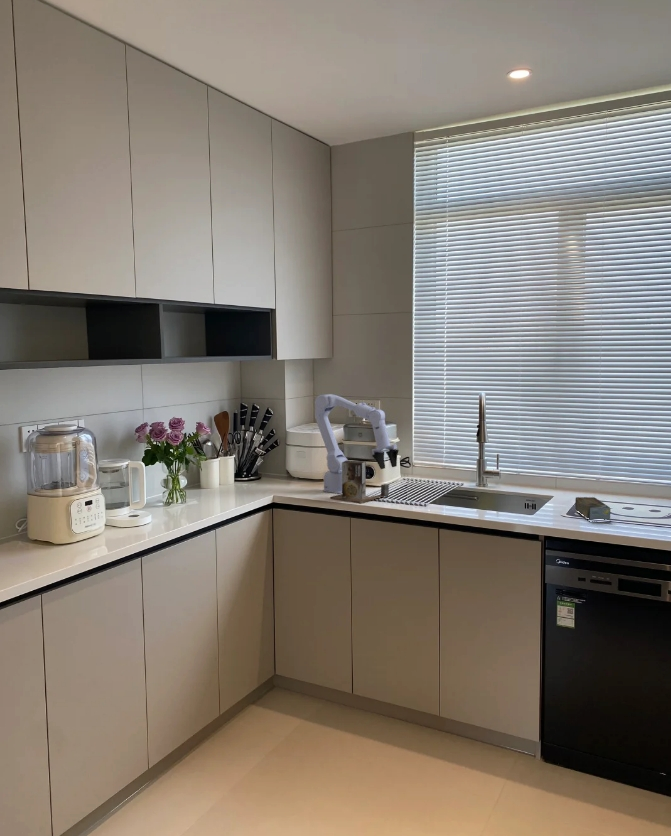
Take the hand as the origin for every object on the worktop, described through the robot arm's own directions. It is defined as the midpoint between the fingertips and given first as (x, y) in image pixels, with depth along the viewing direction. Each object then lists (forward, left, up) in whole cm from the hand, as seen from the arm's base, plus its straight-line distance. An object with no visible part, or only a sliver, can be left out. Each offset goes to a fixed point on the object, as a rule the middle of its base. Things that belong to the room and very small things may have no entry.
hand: (388, 467), depth 302 cm
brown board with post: (-8, -10, -13) cm, 18 cm away
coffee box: (-8, -14, -13) cm, 21 cm away
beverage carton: (+81, +18, -13) cm, 84 cm away
